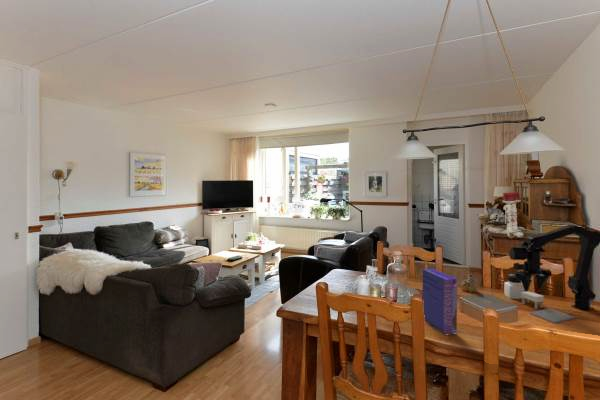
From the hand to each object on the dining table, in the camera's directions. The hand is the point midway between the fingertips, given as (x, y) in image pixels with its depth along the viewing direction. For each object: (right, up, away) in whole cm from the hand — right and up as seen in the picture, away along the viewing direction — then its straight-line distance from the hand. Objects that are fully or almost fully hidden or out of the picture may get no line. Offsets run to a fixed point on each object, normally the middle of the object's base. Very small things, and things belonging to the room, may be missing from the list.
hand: (532, 290), depth 162 cm
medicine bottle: (-1, -8, +13) cm, 15 cm away
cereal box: (-57, -11, -20) cm, 62 cm away
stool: (0, -8, 0) cm, 8 cm away
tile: (0, -9, -12) cm, 15 cm away
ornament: (-20, -7, +23) cm, 32 cm away
